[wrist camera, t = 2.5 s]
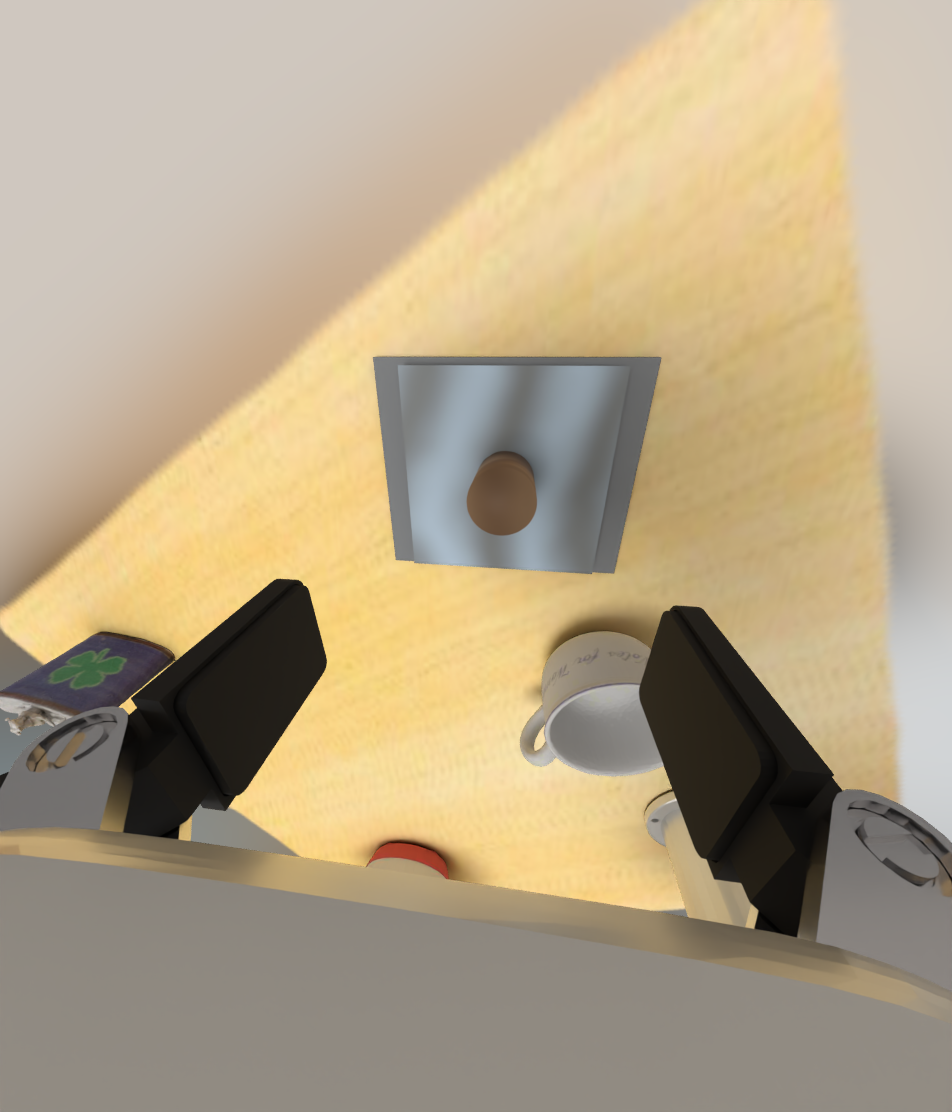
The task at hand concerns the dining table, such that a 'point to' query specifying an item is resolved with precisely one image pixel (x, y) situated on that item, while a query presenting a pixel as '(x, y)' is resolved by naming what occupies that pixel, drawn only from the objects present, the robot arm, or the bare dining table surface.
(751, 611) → the dining table surface
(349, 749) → the dining table surface
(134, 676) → the flask
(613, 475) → the tray
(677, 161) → the dining table surface
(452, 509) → the lid
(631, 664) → the teacup
